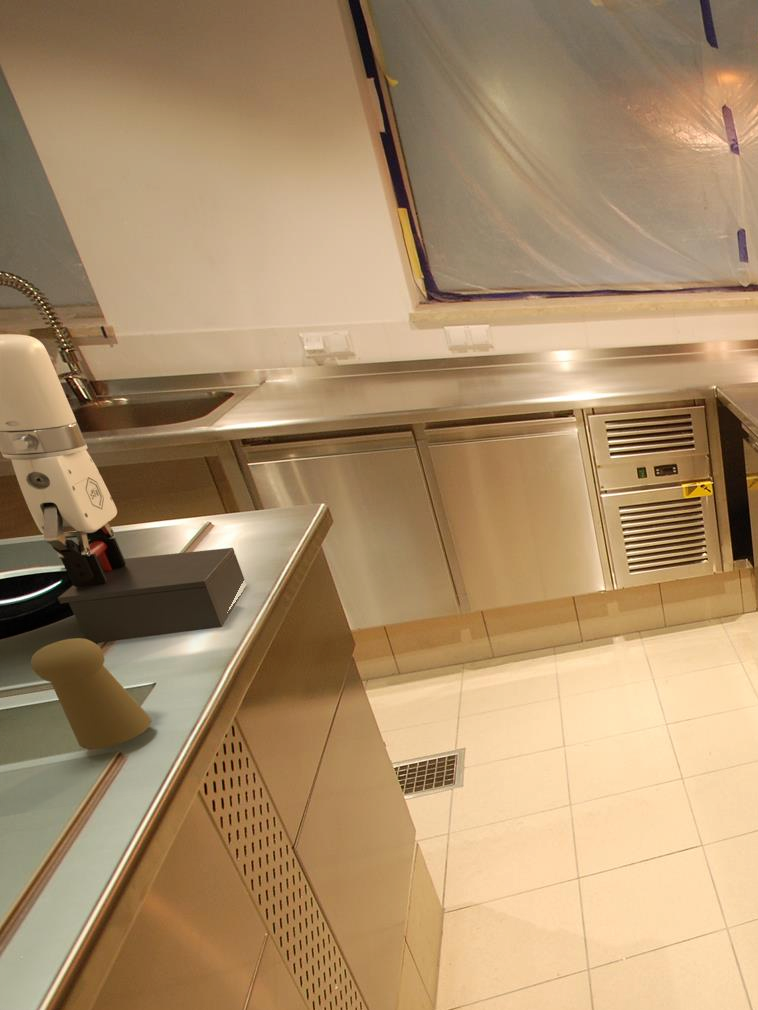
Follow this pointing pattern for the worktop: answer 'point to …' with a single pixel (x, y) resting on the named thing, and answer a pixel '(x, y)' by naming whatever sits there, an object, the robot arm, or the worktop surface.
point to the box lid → (151, 574)
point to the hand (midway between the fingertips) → (100, 574)
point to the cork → (90, 694)
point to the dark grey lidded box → (161, 609)
